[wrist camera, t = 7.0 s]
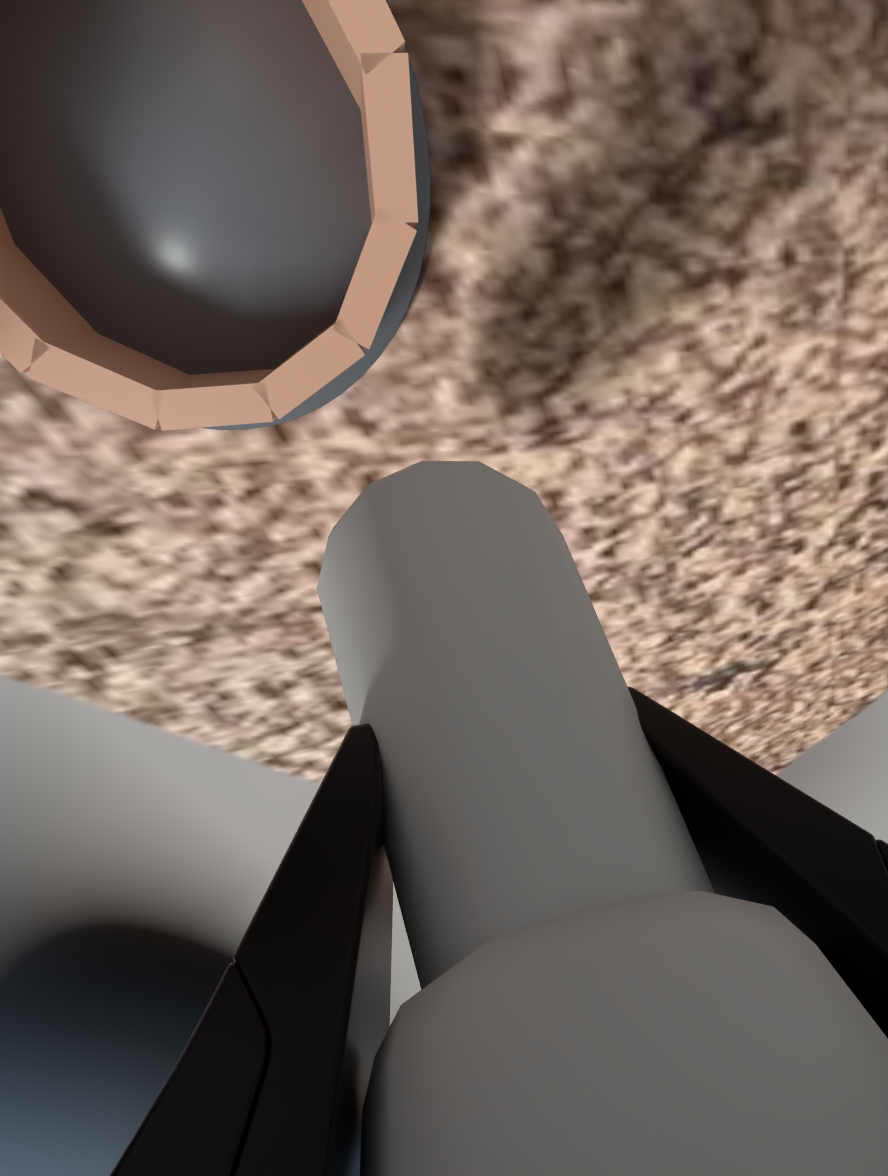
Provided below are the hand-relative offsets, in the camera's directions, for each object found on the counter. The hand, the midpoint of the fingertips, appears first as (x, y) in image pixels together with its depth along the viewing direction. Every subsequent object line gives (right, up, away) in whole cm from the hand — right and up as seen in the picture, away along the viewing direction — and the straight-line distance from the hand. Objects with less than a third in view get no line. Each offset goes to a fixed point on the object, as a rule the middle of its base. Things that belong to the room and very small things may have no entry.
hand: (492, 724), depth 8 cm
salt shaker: (-1, +4, +6) cm, 7 cm away
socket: (-8, +13, +6) cm, 16 cm away
